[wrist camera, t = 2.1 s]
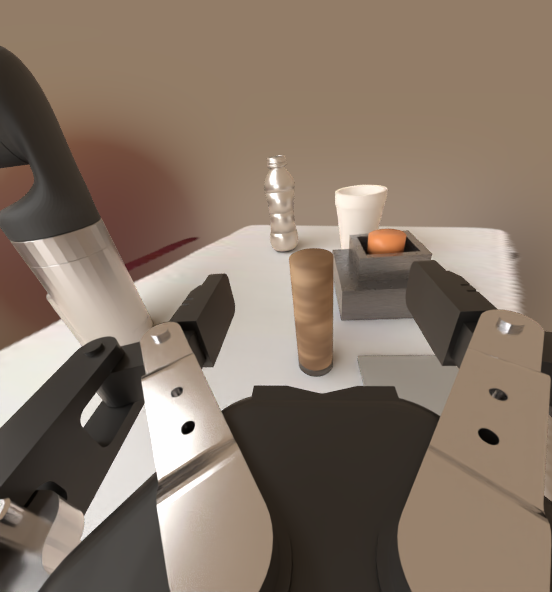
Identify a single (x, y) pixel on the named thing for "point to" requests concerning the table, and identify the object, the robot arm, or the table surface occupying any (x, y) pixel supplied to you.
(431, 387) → the mat
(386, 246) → the breaker button
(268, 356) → the table surface
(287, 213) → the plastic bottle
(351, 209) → the foam cup
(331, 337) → the stick
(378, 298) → the grey button housing
